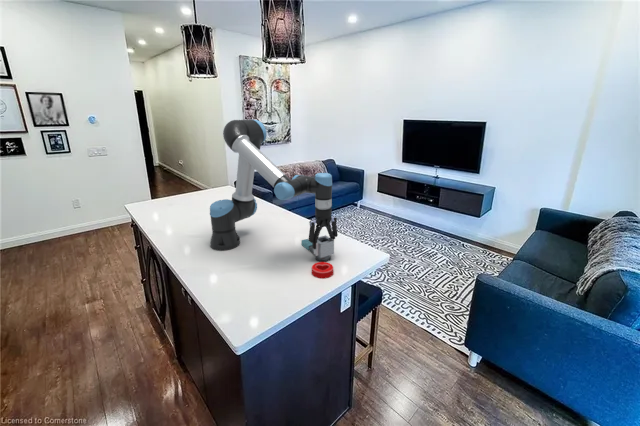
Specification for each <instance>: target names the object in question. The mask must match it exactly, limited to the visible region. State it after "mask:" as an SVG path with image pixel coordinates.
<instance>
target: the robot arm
mask: <svg viewBox="0 0 640 426" xmlns="http://www.w3.org/2000/svg"><path fill="white" fill-rule="evenodd" d="M222 131H223V132H222V136H223V140H224V143H225V144H226V145H227V147H228V148H229V149H230V150H232V152H233V153H236V154H238V159H237V161H238V162H237V169H236V170H237V172H236V182H235V191H234V192H233V193H232V195H231V199H227V198H226V199H220V200H216V201H214V202H212V203H211V204H210V206H209V216H210V224H211V231H212V232H211V233H212V234H211V237H210V241H209V243H210V244H209V245H210V248H211V249H212V250H215V251H228V250H233V249H235V248H237V247H239V246H240V245H241V239H240V236H239V234H238V232H237V230H236V223H238V222H240V221H243V220H245V219H248V218H250V217H252V216H253V215H255V214H256V212H257V210H258V202H257V200H256V198H255V196H254V195H253V184H254V177H255V171H256V172H257V173H259V175H260V176H261V177H262V178H263V179H264V180H265V181H267V182H268V184H269V185H270V186H272V188H274V189H273V192H274V194H275V197H276V198H277V199H278V200H280V201H286V200H291V199H292V198H294V197H297V196H300V195H302V194H305V193H307V194H313V195H314V197H315V198H314V200H315V201H314V202H315V204H314V207H315V209H314V211H315V212H314V215H315V218H314V220H310V221H308V222H309V223H308V224H309V234H308V238H307V239H308V240H309V241H310V242H311V243H312V248H313V249H314V254H315V255H316V256H318V243H317V239H318V237H320V234H321V231H322V229H323V228H326V230H327V233H328V237H329V238H331V239H332V240H334V241H335V240H336V238H337V237H338V234H339V233H338V227H337V226H338V225H337V220H338V218H337V217H336V216H332V215H333V214H332V213H333V211H332V210H333V209H332V207H333V203H332V202H333V201H332V199H333V197H332V195H333V194H332V193H333V175H332V174H331V173H329V172H317V173H316V174H315V175H314V176H310V175H302V174H295V175H294V176H292V178H291V179H290V177H288V175H286V174H285V173H284V172H283V171H282V170H281V169H280V168H279V167H278V166H277V165H276V164H275V163H273V161H271V160H270V158H268V157H267V156H266V155H265V154H264V153H263V152H262V151H261V144H263V143H264V142H265V141H266V140H267V135H268V134H267V128H266V127H265V125H264V123H263V122H261V121H260V120H258V119H252V118H249V119H233V120H230V121H229V122H227V123H226V124H225V126H224V127H223V130H222ZM314 254H313V255H314ZM315 255H314V256H315ZM316 256H315V257H316Z"/></svg>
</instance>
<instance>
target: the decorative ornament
mask: <svg viewBox="0 0 640 426" xmlns="http://www.w3.org/2000/svg"><path fill="white" fill-rule="evenodd" d="M311 275H312V276H313V277H314V278H317V279H329V278H331V277H332V276H333V275H334V266H333V264H332V263H330V262H328V261H327V262H319V261H317V262H315V263H313V264H312V265H311Z"/></svg>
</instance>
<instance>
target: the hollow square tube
mask: <svg viewBox="0 0 640 426" xmlns="http://www.w3.org/2000/svg"><path fill="white" fill-rule="evenodd" d="M329 237H330V236H329V235H326V234H325V235H321V236H319V237H318V239H317V243H318V256H319V257H320V258H322V257H326V256H329V255H330V256H333V255H334V254H335V239H334V240H332V239H331V238H329ZM313 252H314V249H313Z"/></svg>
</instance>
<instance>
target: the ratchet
mask: <svg viewBox="0 0 640 426" xmlns="http://www.w3.org/2000/svg"><path fill="white" fill-rule="evenodd" d="M308 239H309V238H305V239H301V240H300V241H301V246H303V248H305V249H306V250H307V251H309V252H311V253H312V254H313V255H314V257H315V260H316V261H317V262H327V263H328V262H329V261H330V260H331V255H329V256H326V257H322V258H320V257H319V256H316V255H315V254H314V252H313V248H312V243H311V242H310V241H309V240H308Z"/></svg>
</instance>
